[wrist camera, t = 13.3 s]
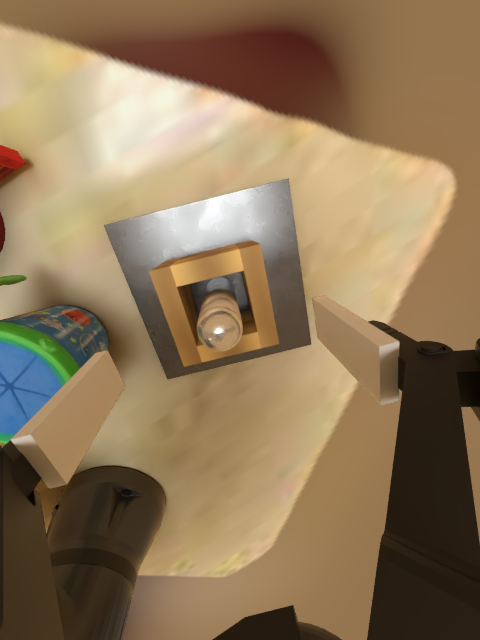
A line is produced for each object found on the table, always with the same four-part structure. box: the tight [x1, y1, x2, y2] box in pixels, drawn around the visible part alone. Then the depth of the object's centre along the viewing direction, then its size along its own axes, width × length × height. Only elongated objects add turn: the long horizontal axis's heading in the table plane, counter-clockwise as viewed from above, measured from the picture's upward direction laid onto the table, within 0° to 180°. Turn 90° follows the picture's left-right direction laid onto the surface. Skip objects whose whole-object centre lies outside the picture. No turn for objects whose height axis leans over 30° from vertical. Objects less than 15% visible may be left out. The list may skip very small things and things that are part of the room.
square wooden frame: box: [149, 240, 279, 367], centre depth 23 cm, size 9×9×6 cm
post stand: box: [104, 179, 311, 379], centre depth 21 cm, size 18×18×12 cm
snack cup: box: [0, 275, 109, 444], centre depth 23 cm, size 16×10×10 cm
